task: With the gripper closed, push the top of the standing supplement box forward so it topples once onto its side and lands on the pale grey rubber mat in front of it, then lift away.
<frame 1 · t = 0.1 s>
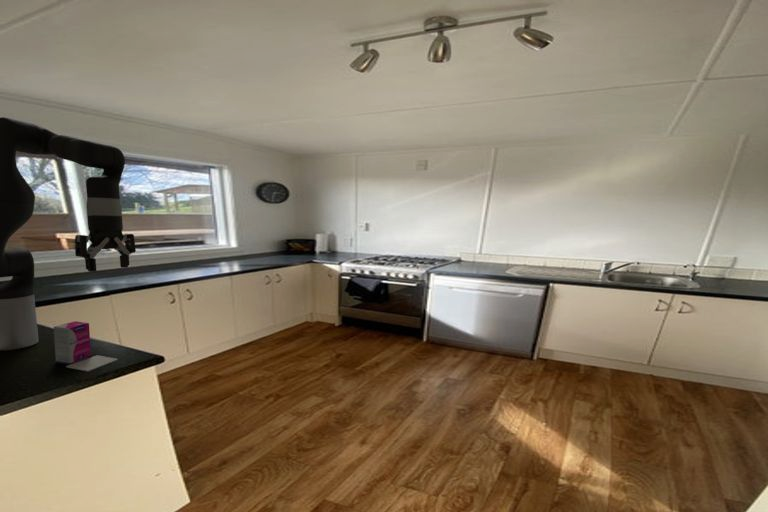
hand: (108, 269, 91), 29 cm above the table, tool pointing down, fingers open, 8 cm apart
supplement box: (74, 360, 95), on the table
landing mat: (92, 363, 93), on the table
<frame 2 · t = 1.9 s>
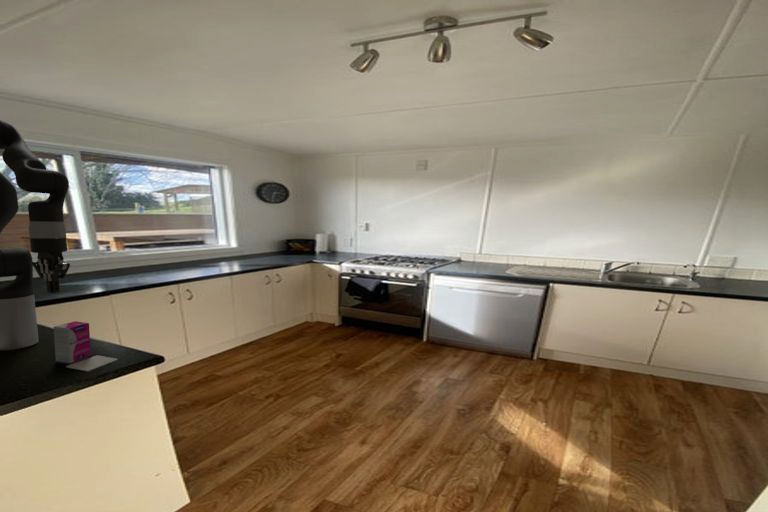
hand: (53, 292, 95), 21 cm above the table, tool pointing down, fingers closed
nothing on the table moved.
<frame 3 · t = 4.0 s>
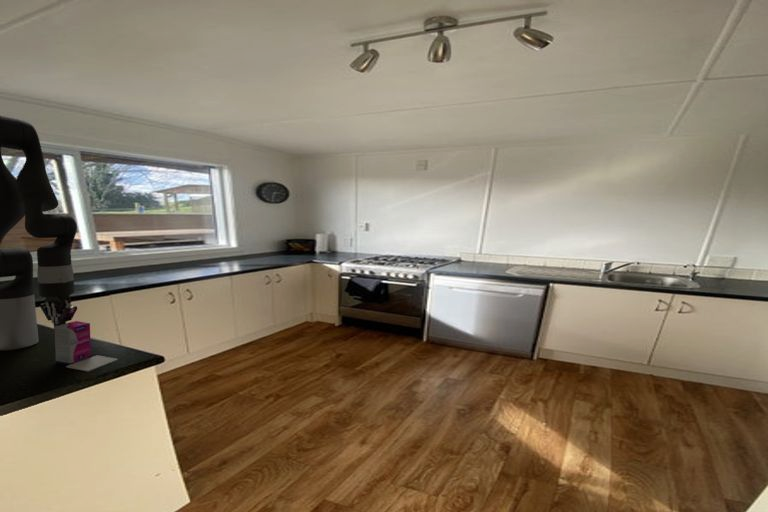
hand: (60, 334, 96), 8 cm above the table, tool pointing down, fingers closed
supplement box: (74, 360, 95), on the table, touching gripper
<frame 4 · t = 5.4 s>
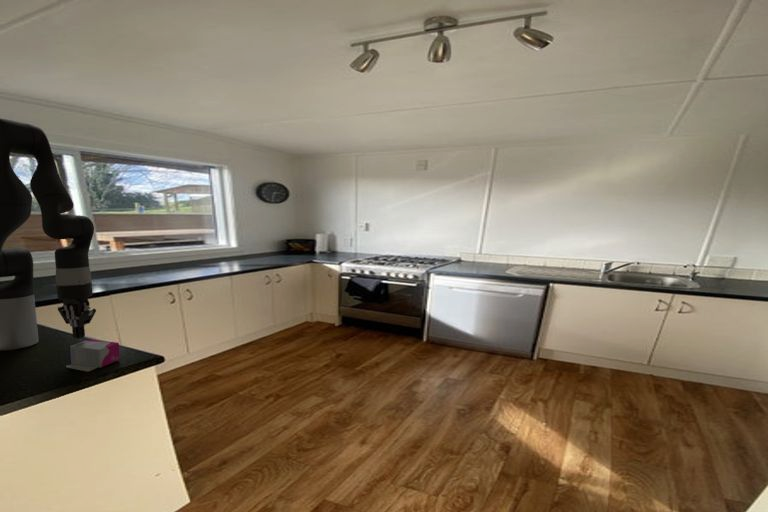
hand: (79, 337, 94), 8 cm above the table, tool pointing down, fingers closed
supplement box: (79, 351, 95), point 3 cm above the table, touching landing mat
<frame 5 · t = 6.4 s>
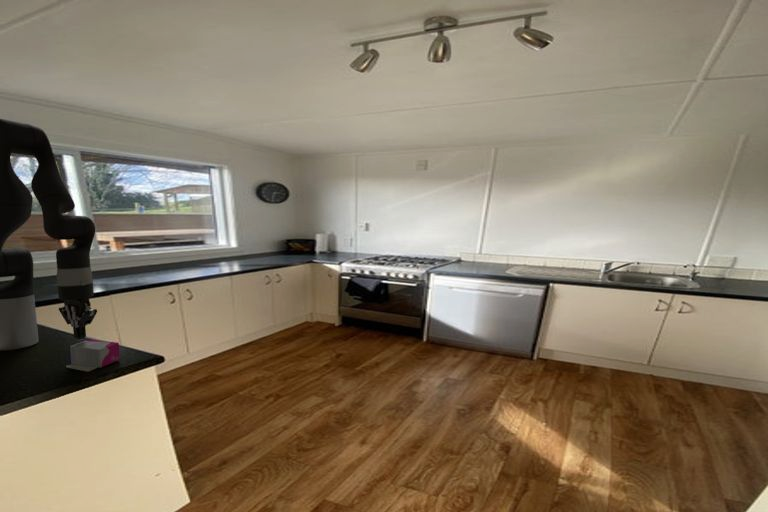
hand: (80, 338, 94), 8 cm above the table, tool pointing down, fingers closed
nothing on the table moved.
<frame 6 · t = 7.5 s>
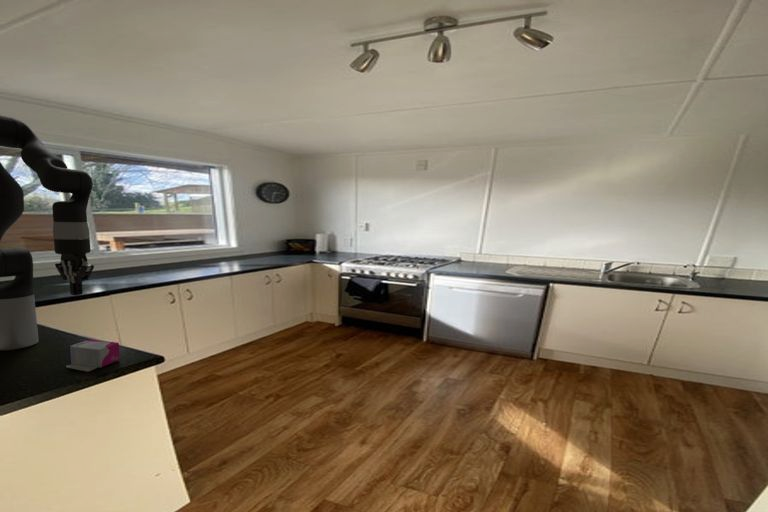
hand: (76, 294, 92), 21 cm above the table, tool pointing down, fingers closed
nothing on the table moved.
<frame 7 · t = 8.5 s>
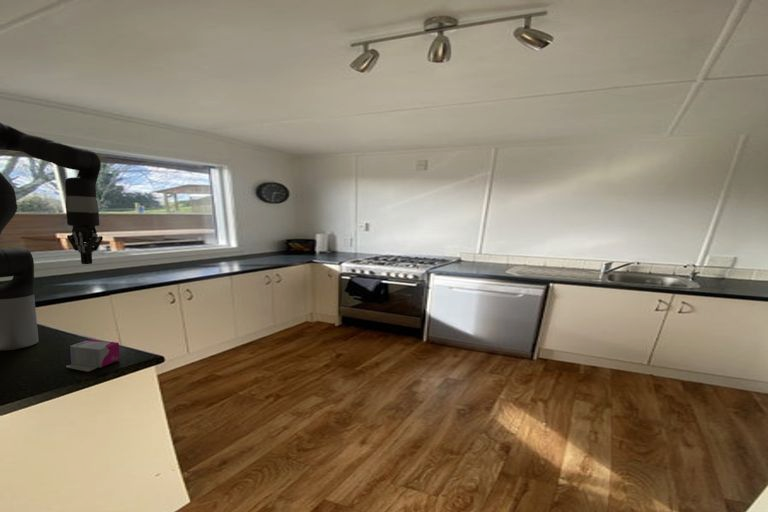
hand: (87, 263, 101), 29 cm above the table, tool pointing down, fingers closed
nothing on the table moved.
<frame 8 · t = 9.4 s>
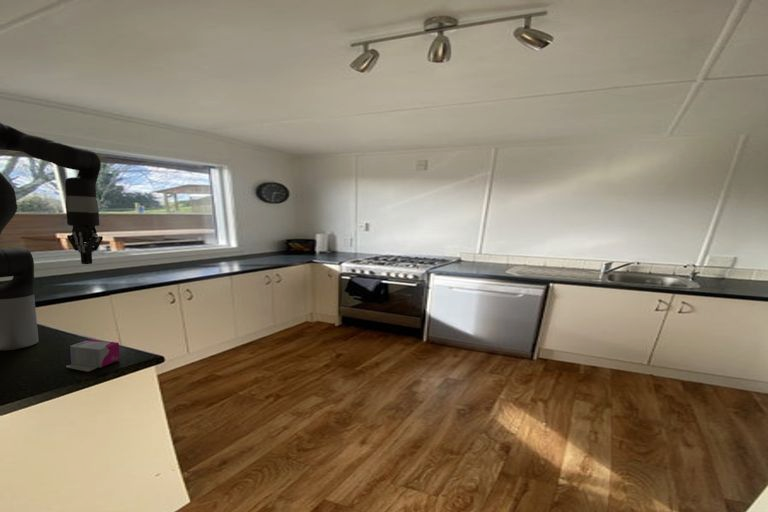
hand: (87, 263, 101), 29 cm above the table, tool pointing down, fingers closed
nothing on the table moved.
at the end: supplement box tilted 89°; supplement box inside the target area (4.1 cm from its centre), point 3.0 cm above the table; the gripper is holding nothing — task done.
